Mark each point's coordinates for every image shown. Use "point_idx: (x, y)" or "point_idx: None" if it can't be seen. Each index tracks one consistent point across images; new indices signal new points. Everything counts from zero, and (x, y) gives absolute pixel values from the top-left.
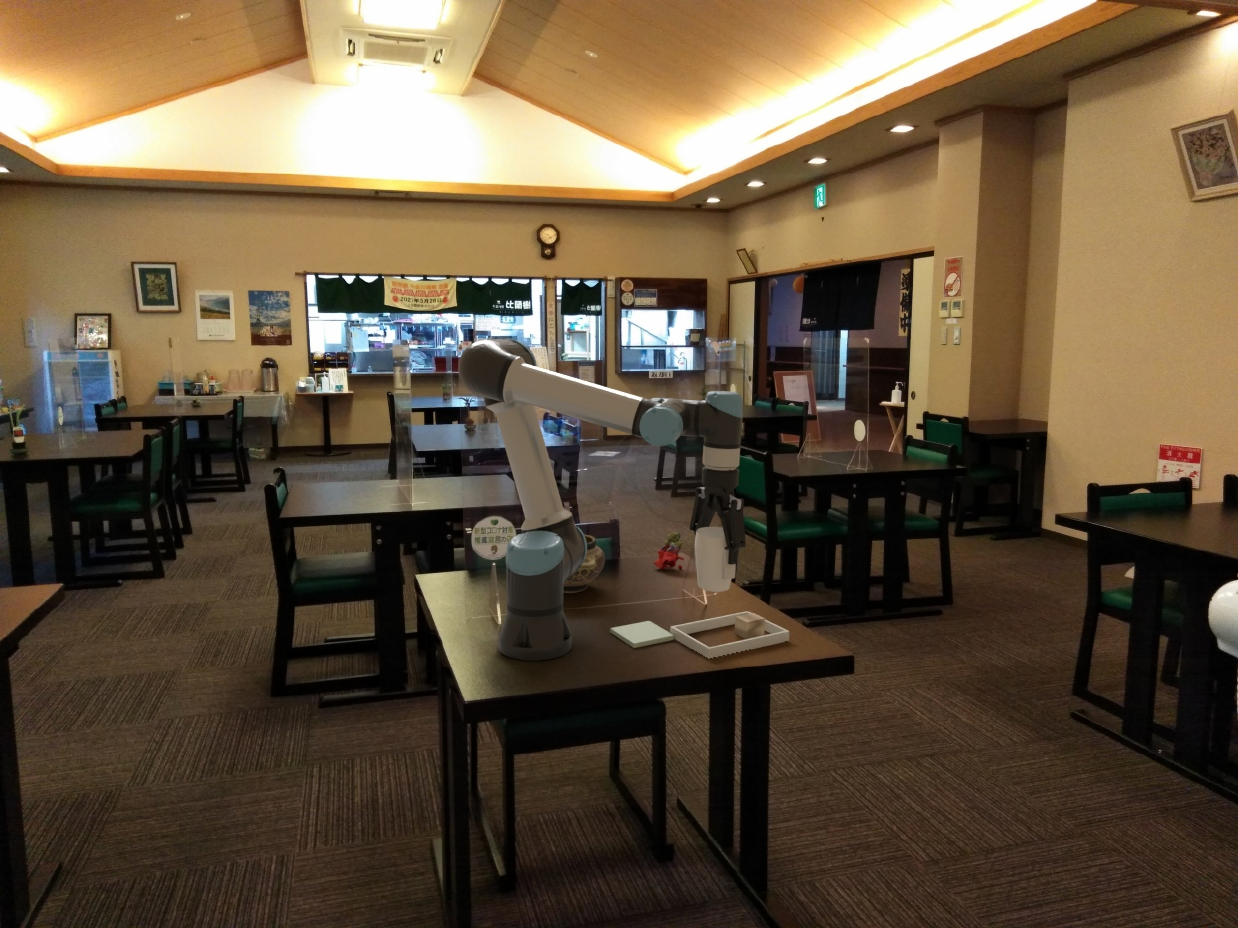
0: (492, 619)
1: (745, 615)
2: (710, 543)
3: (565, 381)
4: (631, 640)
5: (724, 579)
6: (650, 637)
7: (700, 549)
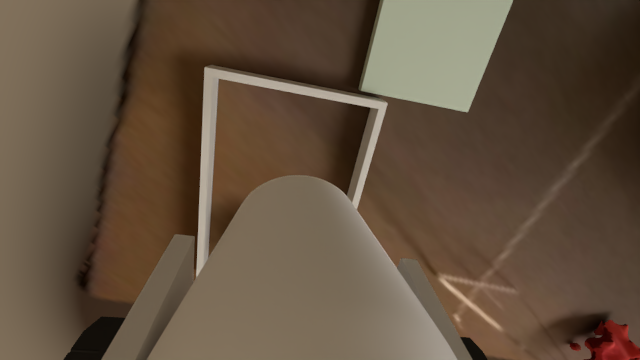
0: None
1: None
2: None
3: None
4: None
5: (174, 235)
6: (393, 25)
7: (311, 297)
